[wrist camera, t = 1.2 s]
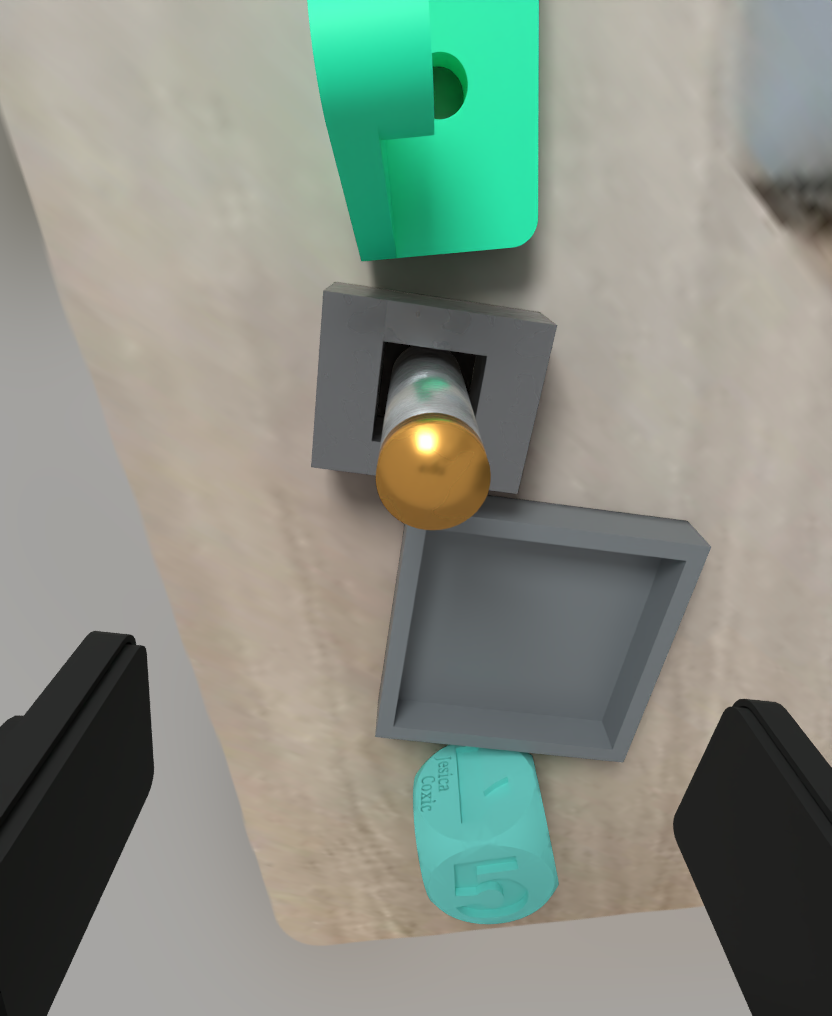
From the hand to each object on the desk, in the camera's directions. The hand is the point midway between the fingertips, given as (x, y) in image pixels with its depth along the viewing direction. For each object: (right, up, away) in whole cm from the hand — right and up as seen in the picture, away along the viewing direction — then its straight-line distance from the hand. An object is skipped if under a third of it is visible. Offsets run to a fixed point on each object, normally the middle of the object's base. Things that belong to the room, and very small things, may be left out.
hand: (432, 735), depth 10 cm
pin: (0, +10, +21) cm, 23 cm away
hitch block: (0, +10, +21) cm, 23 cm away
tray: (+6, -3, +27) cm, 28 cm away
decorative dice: (+4, -16, +34) cm, 37 cm away
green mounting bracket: (+1, +21, +16) cm, 27 cm away
